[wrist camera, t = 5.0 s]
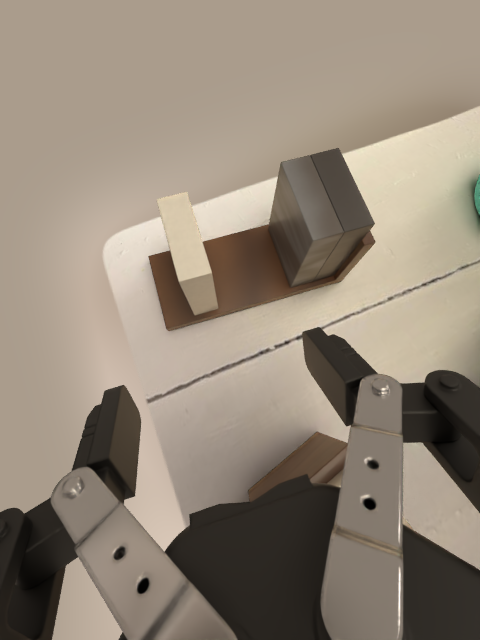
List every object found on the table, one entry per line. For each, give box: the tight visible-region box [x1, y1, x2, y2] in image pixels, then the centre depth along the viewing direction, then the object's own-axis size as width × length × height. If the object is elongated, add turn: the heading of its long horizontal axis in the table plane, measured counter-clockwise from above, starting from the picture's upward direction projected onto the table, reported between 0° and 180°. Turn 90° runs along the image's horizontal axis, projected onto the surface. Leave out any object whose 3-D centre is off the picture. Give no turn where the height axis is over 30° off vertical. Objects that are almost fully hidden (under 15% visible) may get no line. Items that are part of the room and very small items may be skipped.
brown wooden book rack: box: [248, 432, 413, 530], centre depth 20 cm, size 19×8×10 cm, turn 37°
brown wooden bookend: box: [149, 148, 375, 331], centre depth 27 cm, size 18×8×10 cm, turn 107°
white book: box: [157, 192, 218, 315], centre depth 26 cm, size 2×7×8 cm, turn 17°
